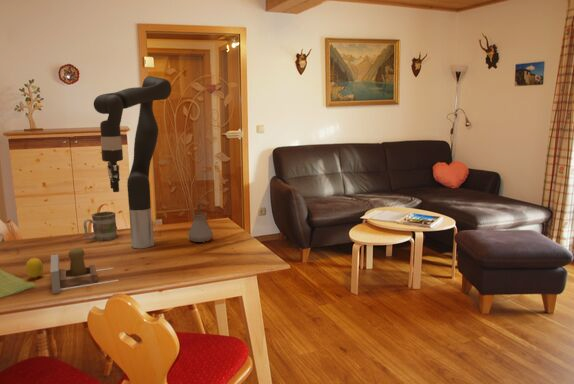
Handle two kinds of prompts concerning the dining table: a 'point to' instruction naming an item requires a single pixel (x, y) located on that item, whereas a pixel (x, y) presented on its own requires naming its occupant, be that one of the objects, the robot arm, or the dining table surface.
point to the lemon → (34, 267)
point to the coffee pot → (200, 227)
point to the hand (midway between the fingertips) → (114, 190)
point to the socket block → (78, 277)
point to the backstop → (56, 276)
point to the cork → (77, 262)
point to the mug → (102, 226)
